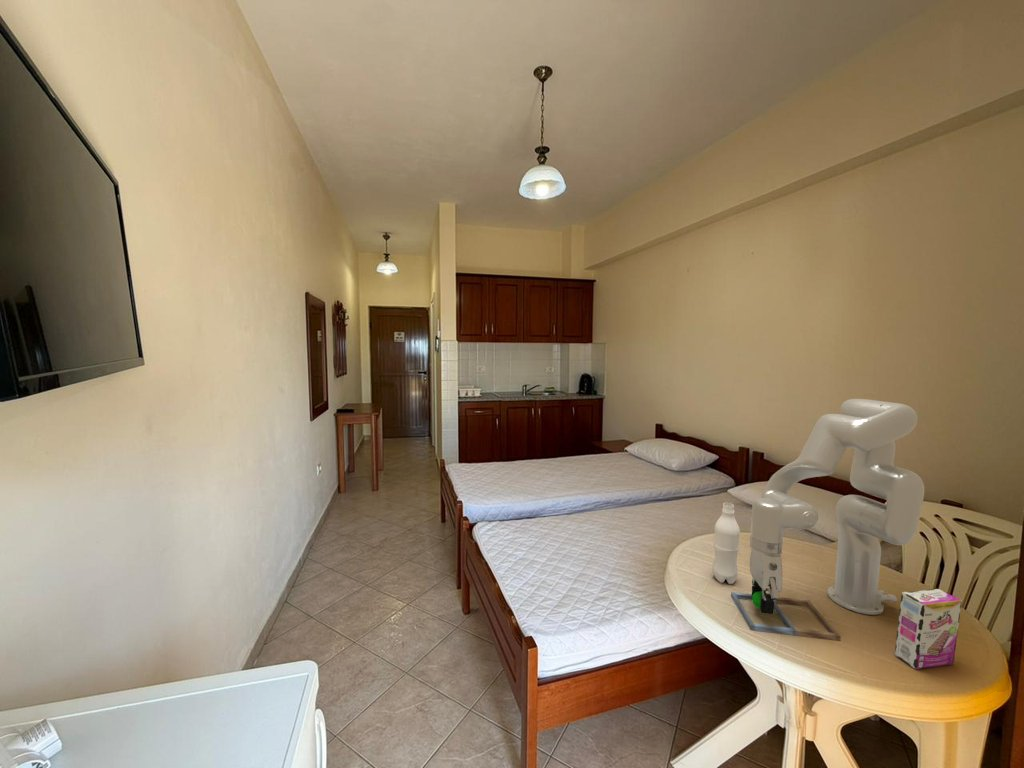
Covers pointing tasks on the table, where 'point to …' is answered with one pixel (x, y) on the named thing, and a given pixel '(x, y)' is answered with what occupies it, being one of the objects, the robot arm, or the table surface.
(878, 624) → the table surface
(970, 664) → the table surface
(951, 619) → the candy bar box
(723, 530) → the water bottle
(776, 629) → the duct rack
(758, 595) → the polyhedron
